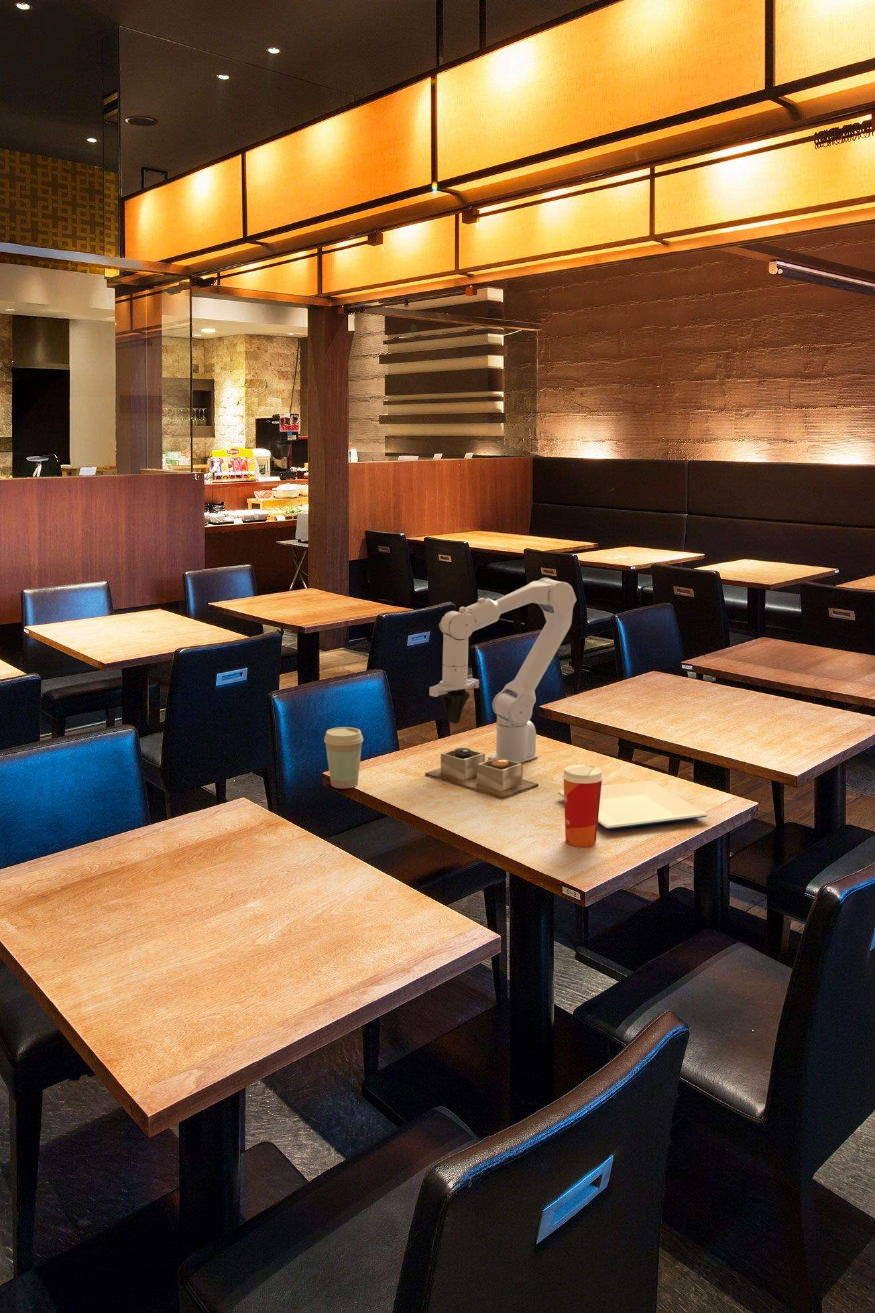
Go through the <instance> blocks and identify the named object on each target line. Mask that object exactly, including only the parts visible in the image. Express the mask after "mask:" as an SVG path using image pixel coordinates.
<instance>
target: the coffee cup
mask: <svg viewBox="0 0 875 1313" xmlns="http://www.w3.org/2000/svg"><path fill="white" fill-rule="evenodd" d="M363 741H364V738H363V734H362V731H361V730H360V729H359V728H357V727H356V728H355V727H351V726H350V727H349V726H348V727H347V726H341V727H339V726H338V727H334V728H330V729H327V730H326V732H325V736H324V739H323V743H325V749H326V756H327V758H326V759H327V764H328V773H329V779H330V785H331V787H333V788H335V789H342V790H343V789H351V788H353V787H352V786H355V785H357V786H358V784H359V783H358V782H359V775H360V765H361V756H362V755H361V753H362V746H363ZM355 787H356V786H355Z"/></svg>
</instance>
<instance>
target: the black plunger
mask: <svg viewBox="0 0 875 1313" xmlns="http://www.w3.org/2000/svg"><path fill="white" fill-rule="evenodd" d="M454 750H455V757H457V758H461V759H465V758H469V757H471V750H472V749H471V748H468V747H457V748H455V749H454Z"/></svg>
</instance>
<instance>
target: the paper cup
mask: <svg viewBox="0 0 875 1313" xmlns="http://www.w3.org/2000/svg"><path fill="white" fill-rule="evenodd" d="M561 777H562V779H563V790H564V797H563V799H564V800H563V805H564V806H563V807H564V808H563V809H564V830H565V832H564V834H565V842H566V844H567V845H569V846H572V847H576V848H588V847H593V846H595V844H596V843H597V834H598V826H599V825H598V824H599V823H598V817H599V806H600V795H601V786H603V784H602V783H603V780H604V779H605V778H604V775H603V772H602V769H601V768H600V767H598V766H597V767H595V766H592V765H587V764H572V765H569V766H566V767H565V768H564V770H563V773H561Z"/></svg>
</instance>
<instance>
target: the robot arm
mask: <svg viewBox="0 0 875 1313" xmlns="http://www.w3.org/2000/svg"><path fill="white" fill-rule="evenodd" d="M576 602H577V597H576V592H574V588H573V586H572V585H571V584H570V583H568V582H565V581H558V580H554V579H552V578H549V577H543V578H540V579H539V580H533V581H531V582H530V583H528V584H526V585H525V586H522V587H520V588H518V589H515V590H514V591H512V592H510V593H508V594H506V595H504V596H502V597H499V598H497V599H496V600H493V599H491V598H484V597H480V598H478V599H477V602H475V603H473V604H470V605H468V606H466V607H465V606H461V607H459V610H458V611H456V610H451V611H447V612H446V613H445V614H444V616H442V617H441V620H440V622H439V624H438V626H439V630H440V631H441V632H442V635H443V636H442V638H443V642H442V643H443V644H442V677H441V678H442V680H440V681H439V683H438V684H435V685H432V686H429V692H428V693H429V694H428V695H429V696H430V697H433V698H434V697H435V698H436V697H439V698H440V699H441V701H442V703H443V705H444V707H445V708H444V709H445V711H446V715H447V720H448V723H450V724H455V725H456V724H459V722H460V719H461V716H462V713H463V710H464V707H465V705H466V703H467V701H468V699H469V698H470V694H471V693H470V692H469V691H466V690H469V689H479V688H480V679H477V678H468V674H469V673H468V669H469V665H468V664H469V662H468V661H469V637H471V635H472V634H473V632H475V631H478V630H479V629H482V628H485V627H486V626H489V625H491V624H494V623H496V622H498V620H499V618H500V617H501V615H502V614H504V613H507V612H509V611H510V612H511V611H512V610H515V609H518V608H520V607H523V606H526V605H529V604H531V603H532V604H537V605H538V606H539V607H540V609H541V610H542V612H543V615H544V618H545V624H544V626H543V628H542V629H541V631H540V633H539V635H538V637H537V638H536V640H535V642H534V644H533V645H532V648H531V649H530V651H529V652H528V655H527V656H526V658H525V660H524V661H523V663H522V665H521V667H520V668H519V670H518V672H517V674H516V676H515V678H514V679H513V680H511V681H510V682H508V683H506V684H505V685H504V687H503V689H502V690H501V691H500V692H499V693H497V694H496V695H495V696H494V698H493V700H492V703H491V704H492V710H493V712H494V713H495V714H496V746H495V748H496V752H495V754H492V755H489V756H488V759H489V760H491V759H494V758H498V757H499V758H505V759H508V760H510V761H514V762H517V763H521V764H523V763H525V762H529V761H531V760H533V759H537V758H538V757H539V755H538V754H537V753H536V750H537V749H536V748H537V747H536V746H537V744H536V743H537V731H536V727H535V725H534V723H533V722H532V721H531V718H532V715H533V708H534V705H535V704H536V701H537V699H536V692H535V691H536V689H537V687H538V686H539V683H540V681H541V680H542V678H543V676H544V675H545V673H546V671H547V669H548V667H549V666H550V664H551V661H552V660H553V659H554V656H555V655H556V653H557V651H558V649H559V648H560V646H561V644H562V643H563V641H564V639H565V637H566V635H567V633H568V632H569V630H570V628H571V626H572V621H573V610H574V606H575V603H576Z"/></svg>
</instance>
